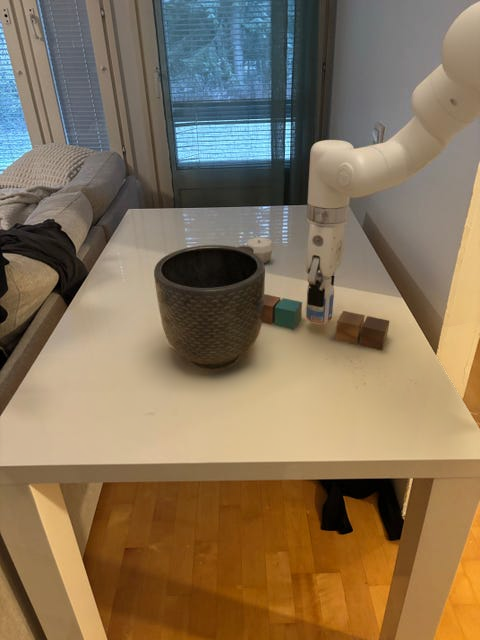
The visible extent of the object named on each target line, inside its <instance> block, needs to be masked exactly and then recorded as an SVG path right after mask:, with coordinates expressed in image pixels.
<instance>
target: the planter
mask: <svg viewBox="0 0 480 640" xmlns="http://www.w3.org/2000/svg"><path fill="white" fill-rule="evenodd" d="M238 247H239V246H231V245H223V244H205V245H196V246H195V245H194V246H189V247H186V248H182V249H178V250H176V251H173V252H170V253H168V254H167V255H165V256H163V257H162V258H161V259H160V260H159V261H157V262H156V264H155V266H154V270H153V277H154V284H155V285H154V286H155V293H156V299H157V305H158V310H159V316H160V321H161V325H162V329H163V332H164V335H165V337H166V340H167V341H168V344H169V345H170V346H171V348H172V349H173V350H174V351H175V352H176V353H177V354H179V355H180V356H181V357H183V358H185V359H186V360H188V361H189V362H190V363H191V364H193V365H194V366H197V367H198V368H202V369H207V370H217V369H224V368H227V367H229V366H231V365H233V364H235V363H236V362H237V361H238V360H239V359H240V358H241V357H242V356H244V355H245V354H246V353H247V352H248V351H249V350H251V348H252V347H253V346H254V345H255V343H256V342H257V339H258V337H259V335H260V332H261V328H262V323H263V322H262V317H263V304H264V294H265V290H266V289H265V288H266V285H265V284H266V267H265V263H263V261H262V259H261V258H260V257H259V256H257V255H256V254H254V253H253V252H250V251H248V250H245V249H242V248H238Z"/></svg>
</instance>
